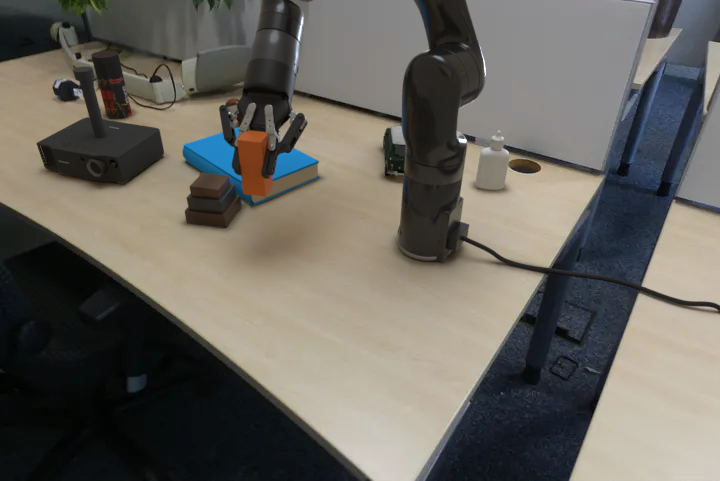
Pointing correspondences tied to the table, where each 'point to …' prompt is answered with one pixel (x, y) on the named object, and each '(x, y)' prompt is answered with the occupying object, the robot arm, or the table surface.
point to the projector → (100, 143)
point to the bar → (253, 163)
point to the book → (218, 159)
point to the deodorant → (111, 84)
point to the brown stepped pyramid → (212, 201)
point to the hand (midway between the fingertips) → (252, 175)
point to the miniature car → (394, 151)
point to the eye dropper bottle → (493, 165)
